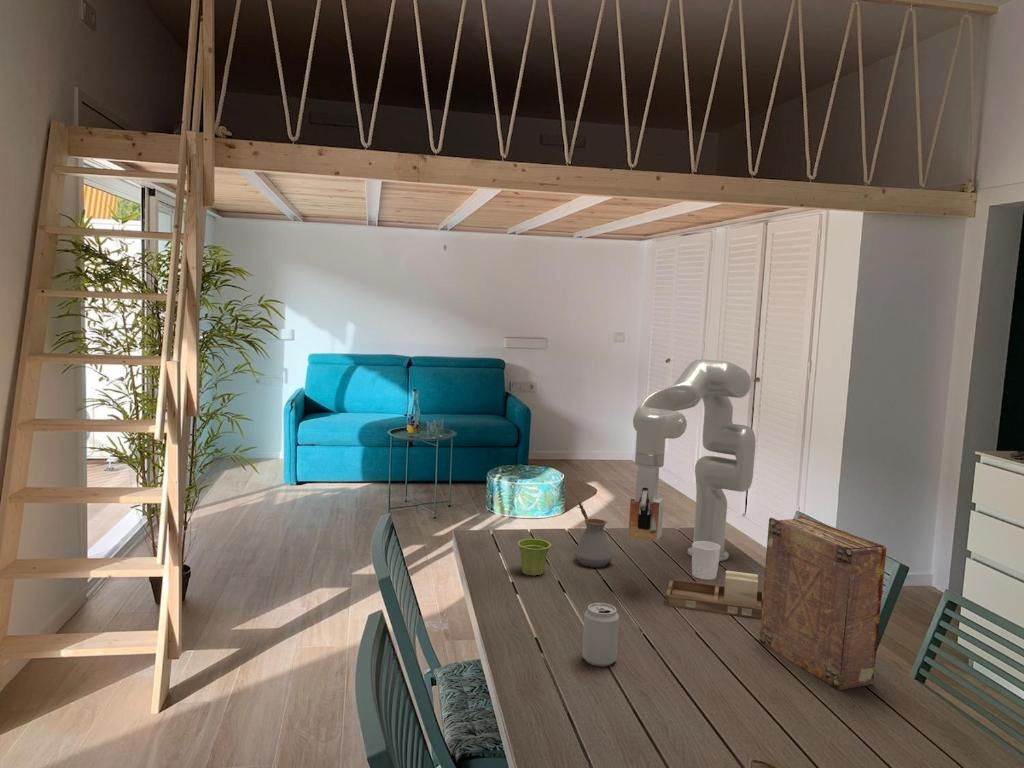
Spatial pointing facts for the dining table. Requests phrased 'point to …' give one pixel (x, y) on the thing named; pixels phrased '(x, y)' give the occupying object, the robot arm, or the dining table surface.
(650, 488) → the robot arm
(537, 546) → the plant pot
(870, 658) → the book
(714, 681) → the dining table surface
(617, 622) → the can
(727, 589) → the beech block
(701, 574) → the white cup
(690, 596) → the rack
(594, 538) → the coffee pot
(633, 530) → the small box
